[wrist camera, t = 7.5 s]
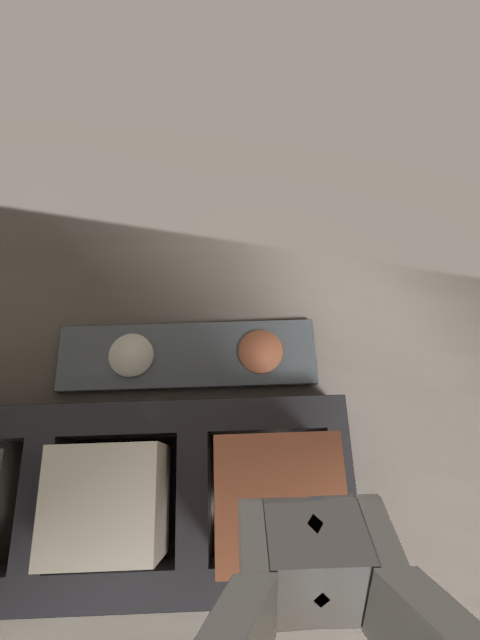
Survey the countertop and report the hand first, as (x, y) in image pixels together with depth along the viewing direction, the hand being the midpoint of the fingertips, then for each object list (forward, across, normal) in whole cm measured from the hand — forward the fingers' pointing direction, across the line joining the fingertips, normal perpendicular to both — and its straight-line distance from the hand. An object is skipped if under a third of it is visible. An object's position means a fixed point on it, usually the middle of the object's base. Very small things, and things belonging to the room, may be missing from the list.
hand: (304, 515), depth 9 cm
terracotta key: (+7, 0, +7) cm, 9 cm away
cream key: (+8, +7, +8) cm, 14 cm away
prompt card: (+14, +4, +4) cm, 15 cm away
